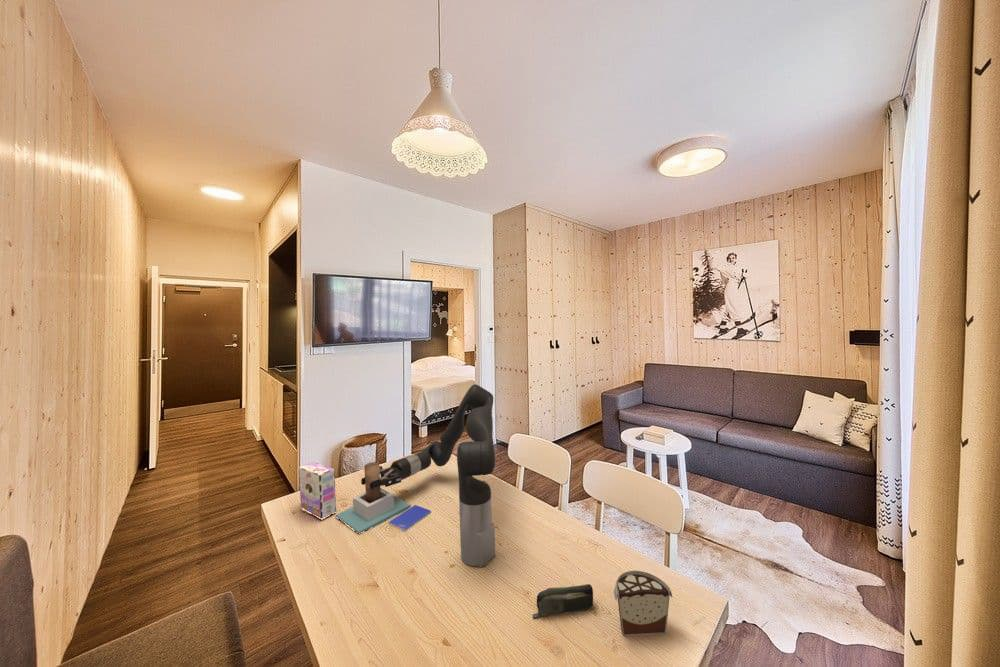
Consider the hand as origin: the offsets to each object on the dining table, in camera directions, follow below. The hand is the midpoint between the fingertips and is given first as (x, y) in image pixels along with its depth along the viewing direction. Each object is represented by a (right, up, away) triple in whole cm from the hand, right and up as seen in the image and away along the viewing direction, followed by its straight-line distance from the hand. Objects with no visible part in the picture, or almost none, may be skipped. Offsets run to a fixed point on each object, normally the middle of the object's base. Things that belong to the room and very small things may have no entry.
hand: (366, 484), depth 120 cm
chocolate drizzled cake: (+78, -11, -44) cm, 91 cm away
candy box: (-19, -12, +4) cm, 23 cm away
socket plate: (+2, -11, +2) cm, 12 cm away
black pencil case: (+62, -12, -40) cm, 75 cm away
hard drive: (+16, -12, -2) cm, 20 cm away
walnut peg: (+2, -8, +2) cm, 8 cm away
